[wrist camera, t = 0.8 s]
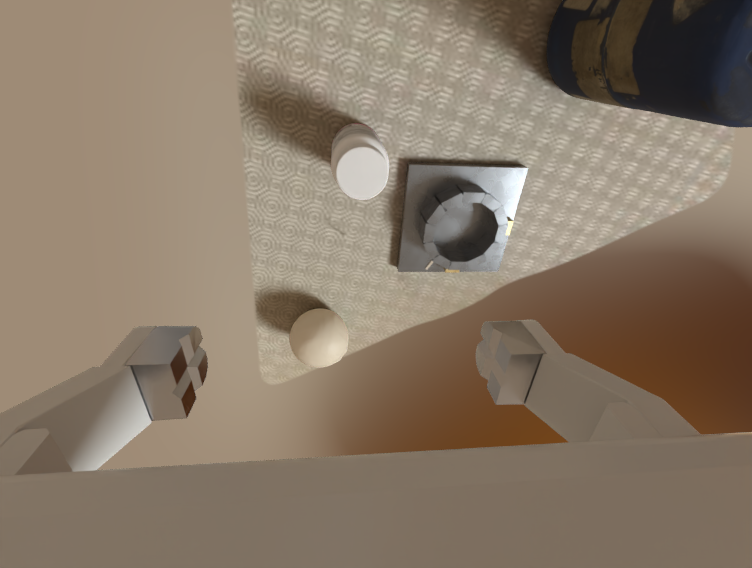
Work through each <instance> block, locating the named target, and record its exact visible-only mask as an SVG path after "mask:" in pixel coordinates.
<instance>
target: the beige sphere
mask: <svg viewBox="0 0 752 568" xmlns="http://www.w3.org/2000/svg"><path fill="white" fill-rule="evenodd" d="M289 340H290V346H291V349H292V351H293V353H294V355H295V356H296V357H297V358H298V359H299V360H300V361H301V362H302V363H304V364H306V365H308V366H311V367H316V368H321V367H327V366H330V365H332V364H334V363H336V362H338V361H339V360H341V358H342V356H343V355H344V354H345V353H346V351H347V348H348V342H349V338H348V330H347V328H346V325H345V323H344V321H343V320H342V319H341V317H340V316H339V315H338V314H336V313H335V312H333V311H331V310H328V309H321V308H320V309H319V308H318V309H312V310H309V311H307V312H305V313H303V314H302V315H301V316H300V317H299V318H298V319H297V320H296V321H295V323H294V324H293V326H292V328H291V332H290V336H289Z"/></svg>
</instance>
